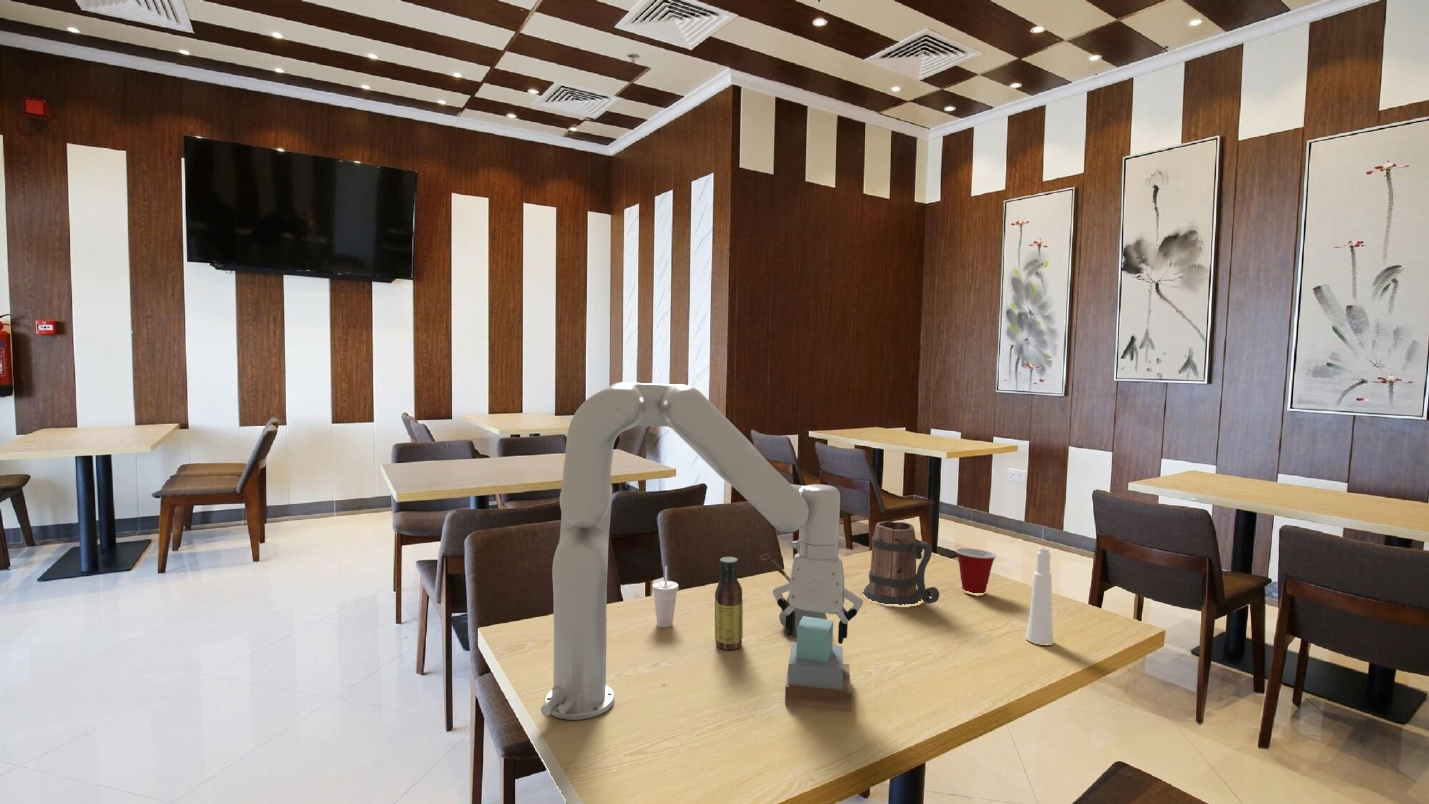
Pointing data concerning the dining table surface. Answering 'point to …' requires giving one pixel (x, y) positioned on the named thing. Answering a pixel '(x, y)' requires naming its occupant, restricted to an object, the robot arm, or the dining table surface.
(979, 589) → the plastic cup
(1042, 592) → the cosmetic bottle
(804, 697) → the bottom block
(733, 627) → the sauce bottle
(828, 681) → the top block
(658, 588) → the smoothie
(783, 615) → the coffee pot
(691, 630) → the dining table surface
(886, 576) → the tankard
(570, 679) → the robot arm
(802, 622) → the teal cube
